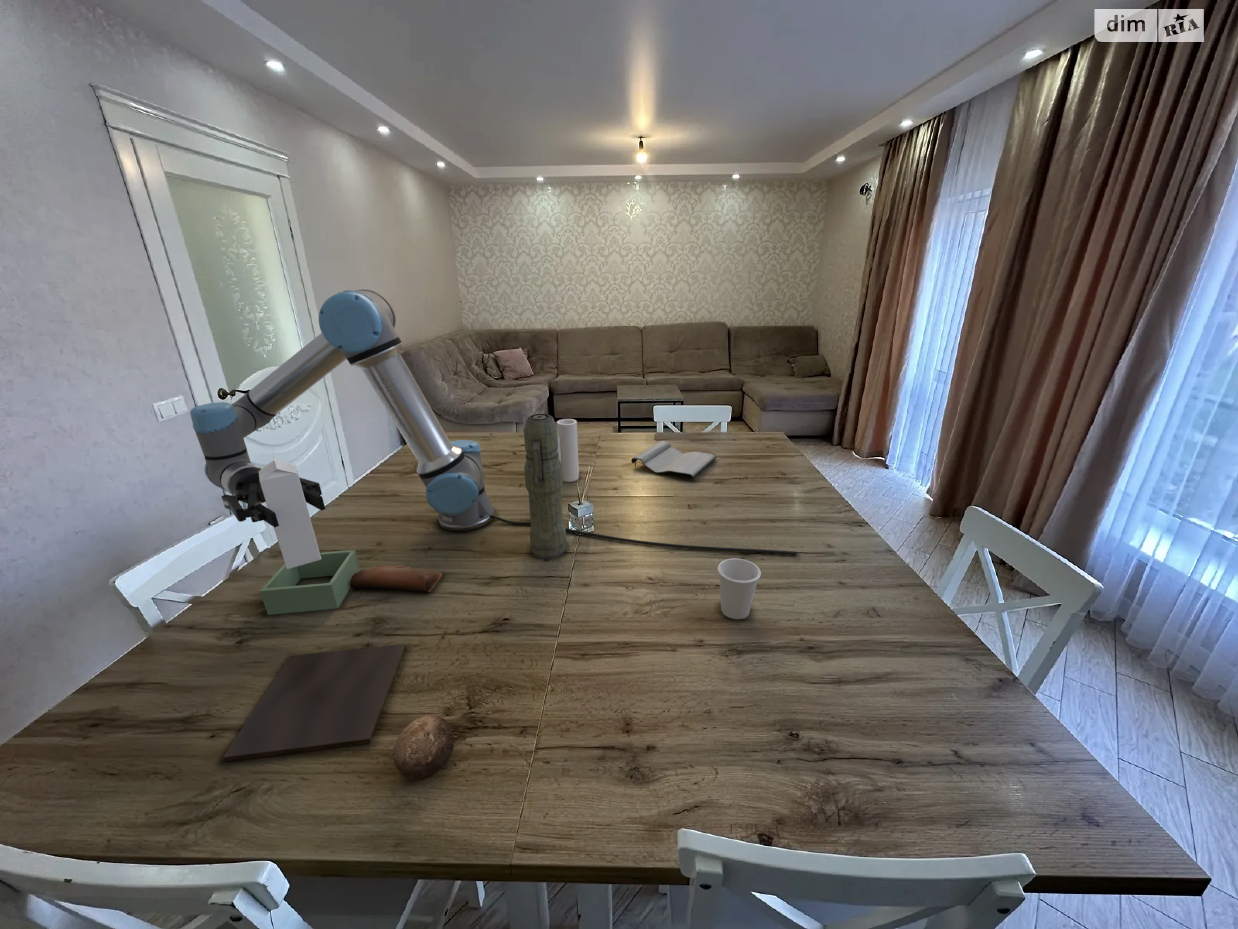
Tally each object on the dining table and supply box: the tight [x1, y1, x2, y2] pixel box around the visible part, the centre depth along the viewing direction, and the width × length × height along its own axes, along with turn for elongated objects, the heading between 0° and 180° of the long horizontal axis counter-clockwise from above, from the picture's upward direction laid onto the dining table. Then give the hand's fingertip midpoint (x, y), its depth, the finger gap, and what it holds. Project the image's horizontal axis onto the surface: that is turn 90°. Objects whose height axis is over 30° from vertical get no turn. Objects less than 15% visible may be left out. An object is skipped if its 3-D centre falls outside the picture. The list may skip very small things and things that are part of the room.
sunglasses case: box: [350, 564, 443, 593], centre depth 109 cm, size 18×7×7 cm
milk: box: [259, 453, 321, 569], centre depth 94 cm, size 6×6×22 cm
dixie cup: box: [717, 557, 762, 620], centre depth 98 cm, size 8×8×10 cm
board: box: [222, 643, 406, 763], centre depth 80 cm, size 20×20×1 cm
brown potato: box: [392, 714, 455, 780], centre depth 69 cm, size 8×8×6 cm
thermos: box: [523, 413, 567, 560], centre depth 116 cm, size 9×12×35 cm
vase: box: [556, 418, 580, 483], centre depth 161 cm, size 11×7×20 cm, turn 93°
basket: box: [259, 549, 361, 616], centre depth 106 cm, size 14×14×6 cm
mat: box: [631, 440, 718, 479], centre depth 175 cm, size 23×24×5 cm
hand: (299, 511), depth 91 cm, fingers closed on milk, 7 cm apart
